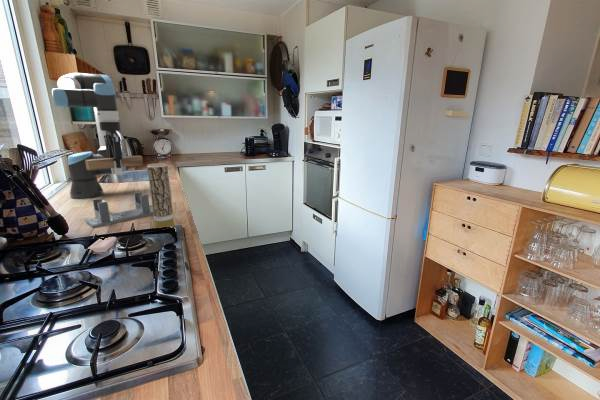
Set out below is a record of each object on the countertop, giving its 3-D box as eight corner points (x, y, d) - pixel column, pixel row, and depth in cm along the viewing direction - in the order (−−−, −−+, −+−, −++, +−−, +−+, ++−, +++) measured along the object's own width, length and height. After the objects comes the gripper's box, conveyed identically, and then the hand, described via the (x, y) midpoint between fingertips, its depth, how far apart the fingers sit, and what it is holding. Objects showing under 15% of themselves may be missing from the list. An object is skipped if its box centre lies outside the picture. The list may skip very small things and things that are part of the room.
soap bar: (118, 242, 106) (117, 236, 106) (106, 253, 98) (105, 246, 97) (101, 243, 106) (100, 237, 105) (87, 254, 97) (86, 247, 96)
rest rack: (97, 212, 139) (95, 201, 138) (141, 203, 152) (139, 194, 151) (101, 214, 135) (99, 203, 134) (146, 206, 149) (144, 196, 147)
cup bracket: (85, 221, 126) (81, 200, 123) (150, 208, 144) (147, 190, 142) (92, 227, 119) (88, 205, 117) (159, 213, 138) (157, 193, 135)
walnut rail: (86, 169, 132) (84, 160, 131) (140, 163, 147) (138, 155, 146) (89, 170, 129) (87, 160, 128) (143, 164, 145) (142, 156, 144)
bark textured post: (167, 232, 115) (159, 166, 109) (151, 230, 117) (142, 165, 110) (177, 225, 122) (171, 163, 115) (162, 224, 123) (155, 162, 116)
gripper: (93, 121, 136) (102, 173, 142) (105, 121, 125) (114, 177, 131) (112, 121, 141) (119, 171, 147) (125, 121, 130) (133, 175, 136)
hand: (117, 174), depth 139 cm, fingers closed on walnut rail, 4 cm apart
